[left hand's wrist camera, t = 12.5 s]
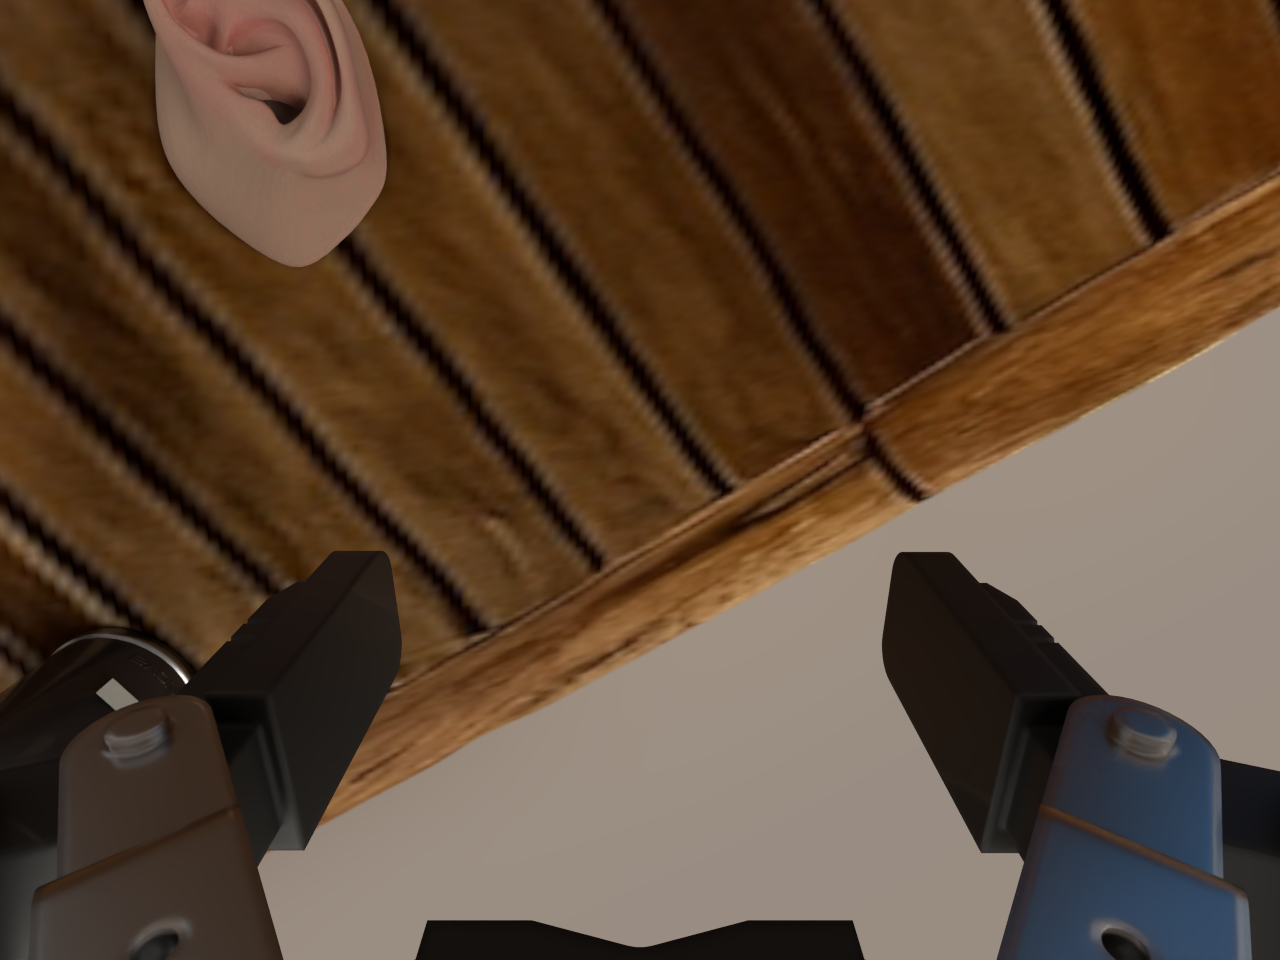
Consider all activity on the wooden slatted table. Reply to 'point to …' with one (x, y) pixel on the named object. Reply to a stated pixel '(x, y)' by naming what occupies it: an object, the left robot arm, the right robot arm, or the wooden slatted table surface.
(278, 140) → the anatomical model
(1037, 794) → the left robot arm
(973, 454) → the wooden slatted table surface
